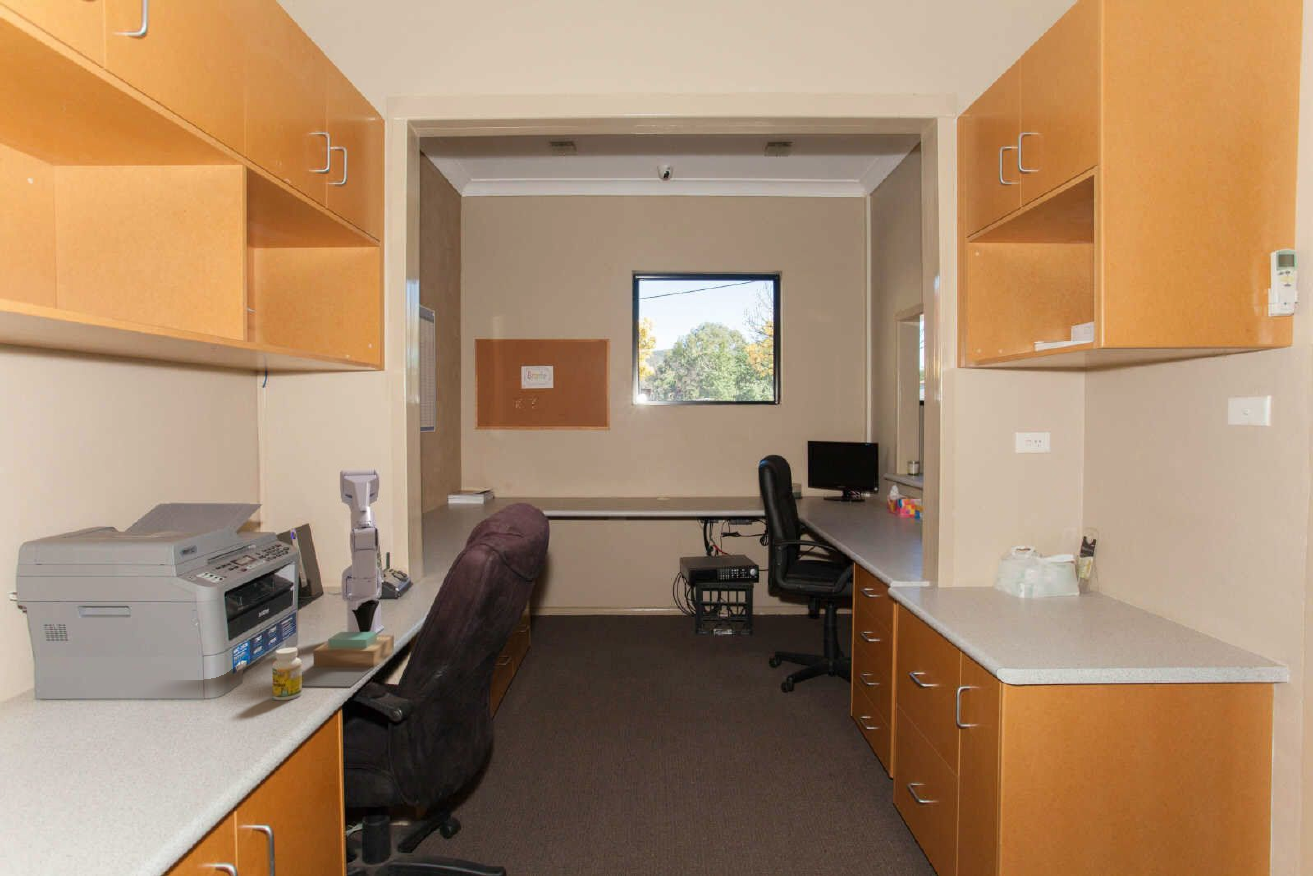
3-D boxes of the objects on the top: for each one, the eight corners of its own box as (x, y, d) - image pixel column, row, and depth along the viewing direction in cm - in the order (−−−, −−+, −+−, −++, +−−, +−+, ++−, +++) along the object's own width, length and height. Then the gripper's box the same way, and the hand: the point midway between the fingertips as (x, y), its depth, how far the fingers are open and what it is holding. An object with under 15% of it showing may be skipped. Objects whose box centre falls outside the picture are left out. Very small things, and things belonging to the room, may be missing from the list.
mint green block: (340, 640, 176) (340, 631, 176) (376, 640, 175) (376, 632, 175) (328, 647, 170) (328, 639, 170) (366, 648, 169) (366, 639, 169)
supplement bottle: (307, 693, 152) (307, 648, 152) (285, 702, 147) (285, 655, 147) (289, 689, 154) (288, 645, 154) (266, 698, 149) (266, 652, 149)
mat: (313, 667, 168) (313, 666, 168) (373, 668, 167) (373, 667, 167) (285, 687, 156) (285, 685, 156) (350, 687, 155) (350, 686, 155)
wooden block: (337, 651, 180) (337, 635, 180) (393, 651, 179) (393, 635, 179) (313, 667, 168) (313, 650, 168) (373, 668, 167) (373, 651, 167)
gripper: (361, 570, 186) (361, 623, 186) (334, 583, 172) (335, 640, 172) (388, 570, 186) (388, 623, 186) (364, 583, 171) (364, 640, 172)
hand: (365, 631), depth 179 cm, fingers closed
